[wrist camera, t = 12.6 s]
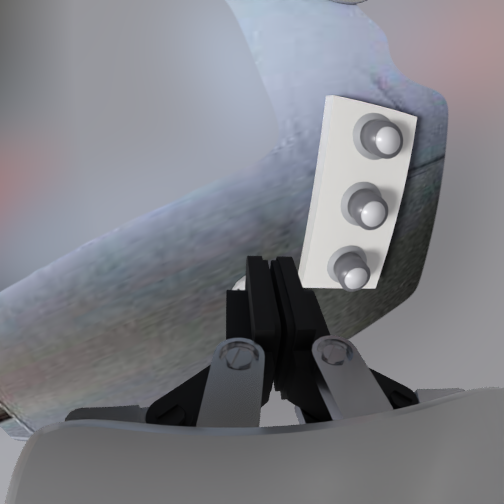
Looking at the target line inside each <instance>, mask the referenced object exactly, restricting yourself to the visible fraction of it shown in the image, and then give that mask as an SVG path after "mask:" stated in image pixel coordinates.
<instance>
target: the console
mask: <svg viewBox="0 0 504 504" xmlns="http://www.w3.org/2000/svg"><path fill="white" fill-rule="evenodd" d="M373 119H377V120H383V121H388V122H392V123H394V124H396V125H397V126H398V127H399V129H400V130H401V132H402V135H403V146H402V149H401V151H400V152H399V153H398V155H396V156H395V157H393V158H390V159H384V158H381V157H379V156H376V155H374V154H372V153H369V152H368V151H366V150H365V149H364V147H363V146H362V144H361V141H360V132H361V129H362V127H363V125H364V124H365V123H366V122H368V121H370V120H373ZM416 122H417V117H416V116H412V115H409V114H406V113H403V112H399V111H396V110H393V109H389V108H385V107H382V106H378V105H374V104H370V103H366V102H362V101H358V100H353V99H349V98H344V97H339V96H335V95H330V96H326V100H325V108H324V116H323V124H322V131H321V139H320V146H319V153H318V160H317V167H316V173H315V180H314V186H313V193H312V199H311V205H310V211H309V217H308V223H307V228H306V234H305V240H304V245H303V250H302V256H301V261H300V266H299V272H298V275H299V278H300V281H301V284H302V287H303V288H342V286H341V285H340V283H339V281H338V279H337V277H336V275H335V274H334V270H333V267H334V264H335V262H336V260H337V259H338V258H339V257H340V256H341V255H343V254H345V253H348V252H354V253H357V254H358V255H360V257H361V258H362V259H363V261H364V262H365V263H366V265H367V266H368V267H369V269H370V272H371V275H370V279H369V281H368V283H367V284H366V285H365V286H364V287H363V288H376V285H377V282H378V279H379V276H380V273H381V270H382V267H383V264H384V261H385V257H386V254H387V251H388V247H389V244H390V241H391V237H392V234H393V230H394V226H395V223H396V219H397V215H398V211H399V207H400V203H401V199H402V195H403V191H404V186H405V182H406V177H407V172H408V167H409V162H410V157H411V152H412V147H413V141H414V135H415V129H416ZM360 189H369V190H371V191H373V192H374V193H376V194H377V195H378V196H380V197H381V198H382V199H384V200H385V202H386V203H387V205H388V216H387V219H386V221H385V222H384V224H383V225H382V226H380V227H379V228H377V229H375V230H365V229H363V228H362V227H360V226H359V224H358V223H357V222H356V221H355V220H354V219H353V218H352V217H351V216H350V214H349V212H348V208H347V206H348V201H349V199H350V197H351V195H352V194H353V193H354V192H356V191H357V190H360Z"/></svg>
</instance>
